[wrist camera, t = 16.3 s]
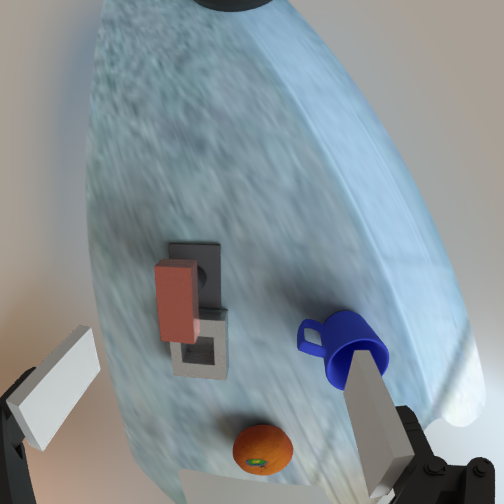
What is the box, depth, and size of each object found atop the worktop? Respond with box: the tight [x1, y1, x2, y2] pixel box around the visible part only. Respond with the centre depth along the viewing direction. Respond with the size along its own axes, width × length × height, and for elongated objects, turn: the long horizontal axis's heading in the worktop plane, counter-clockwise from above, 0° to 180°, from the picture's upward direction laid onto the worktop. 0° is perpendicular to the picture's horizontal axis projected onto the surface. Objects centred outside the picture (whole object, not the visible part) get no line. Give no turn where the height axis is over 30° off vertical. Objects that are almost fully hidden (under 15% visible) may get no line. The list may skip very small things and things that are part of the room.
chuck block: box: [170, 308, 229, 380], centre depth 44 cm, size 10×8×4 cm
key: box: [154, 259, 207, 344], centre depth 38 cm, size 4×9×10 cm, turn 179°
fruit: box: [233, 425, 293, 475], centre depth 47 cm, size 11×10×8 cm
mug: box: [297, 311, 389, 391], centre depth 40 cm, size 8×12×10 cm
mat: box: [169, 243, 221, 308], centre depth 43 cm, size 9×7×1 cm
